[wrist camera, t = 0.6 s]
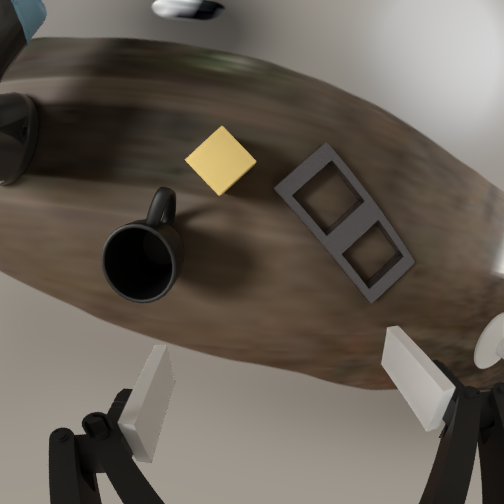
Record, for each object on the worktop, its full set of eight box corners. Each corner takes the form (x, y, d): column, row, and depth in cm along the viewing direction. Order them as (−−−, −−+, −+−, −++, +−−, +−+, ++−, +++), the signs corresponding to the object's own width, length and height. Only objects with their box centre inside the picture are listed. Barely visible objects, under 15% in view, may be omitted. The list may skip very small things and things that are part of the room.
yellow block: (196, 164, 35) (184, 159, 28) (226, 136, 34) (222, 125, 27) (223, 193, 36) (218, 195, 29) (254, 165, 35) (256, 161, 28)
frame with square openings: (272, 188, 36) (273, 188, 34) (322, 143, 34) (326, 141, 32) (365, 298, 39) (371, 304, 37) (408, 258, 38) (415, 262, 36)
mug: (215, 201, 36) (205, 207, 27) (179, 285, 38) (160, 316, 29) (156, 175, 35) (128, 173, 26) (124, 259, 37) (92, 282, 28)
